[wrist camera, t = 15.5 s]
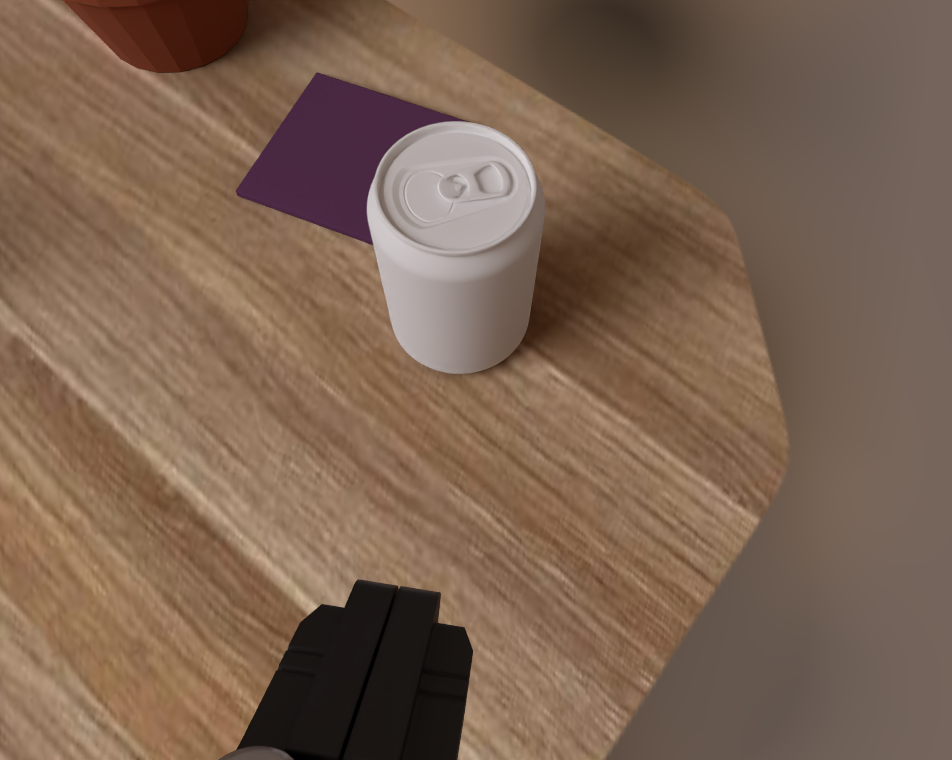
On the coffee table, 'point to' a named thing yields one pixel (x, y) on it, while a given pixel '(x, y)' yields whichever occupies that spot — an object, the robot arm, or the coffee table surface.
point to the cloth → (332, 154)
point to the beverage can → (457, 243)
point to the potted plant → (165, 30)
